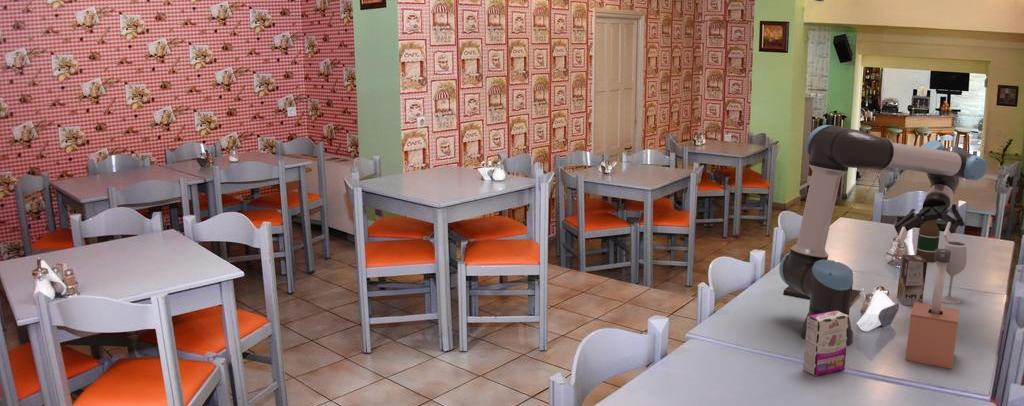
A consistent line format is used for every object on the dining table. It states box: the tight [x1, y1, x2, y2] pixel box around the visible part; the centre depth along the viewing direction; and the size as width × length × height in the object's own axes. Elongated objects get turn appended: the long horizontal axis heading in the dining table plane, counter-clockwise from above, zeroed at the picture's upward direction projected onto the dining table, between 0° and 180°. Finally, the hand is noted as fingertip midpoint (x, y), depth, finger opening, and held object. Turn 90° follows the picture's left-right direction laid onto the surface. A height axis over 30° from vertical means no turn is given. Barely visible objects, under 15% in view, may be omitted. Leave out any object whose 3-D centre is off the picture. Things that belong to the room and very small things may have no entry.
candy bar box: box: [802, 311, 850, 377], centre depth 225 cm, size 11×5×16 cm, turn 114°
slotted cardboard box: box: [905, 302, 961, 369], centre depth 235 cm, size 12×12×14 cm
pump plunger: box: [931, 248, 951, 314], centre depth 230 cm, size 8×4×22 cm, turn 149°
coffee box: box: [896, 254, 929, 306], centre depth 283 cm, size 9×6×16 cm
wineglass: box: [942, 240, 967, 305], centre depth 284 cm, size 8×8×21 cm
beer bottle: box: [915, 220, 941, 263], centre depth 334 cm, size 8×8×24 cm
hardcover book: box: [783, 285, 862, 308], centre depth 291 cm, size 16×23×2 cm
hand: (922, 240), depth 248 cm, fingers open, 13 cm apart
